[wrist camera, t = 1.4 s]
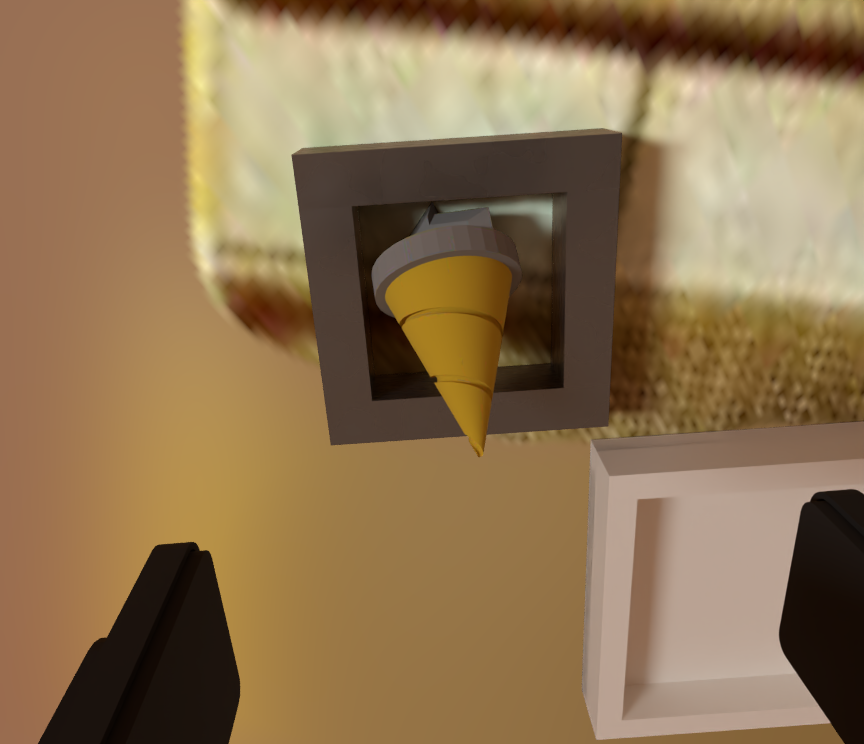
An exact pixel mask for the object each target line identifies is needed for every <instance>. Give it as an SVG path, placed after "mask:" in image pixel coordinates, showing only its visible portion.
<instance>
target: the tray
mask: <svg viewBox="0 0 864 744" xmlns="http://www.w3.org/2000/svg"><path fill="white" fill-rule="evenodd" d="M846 489H855V490H858V491H860V492H861V493H863V494H864V421H860V422H846V423H831V424H817V425H802V426H788V427H773V428H759V429H744V430H730V431H715V432H700V433H686V434H671V435H657V436H642V437H628V438H613V439H599V440H591V452H590V480H589V509H588V534H587V563H586V589H585V617H584V645H583V672H582V692H583V695H584V699H585V702H586V706H587V709H588V712H589V716H590V719H591V723H592V726H593V730H594V733H595V737H596V739H597V740H600V739H615V738H629V737H642V736H656V735H670V734H684V733H698V732H712V731H724V730H725V731H726V730H740V729H754V728H768V727H782V726H796V725H810V724H824V723H830V721H829V720H828V718H827V717H826V716H825V714H824V713H823V711H822V710H821V708H820V707H819V705H818V704H817V702H816V701H815V699H814V698H813V696H812V695H811V694H810V692H809V691H808V689H807V688H806V686H805V685H804V683H803V682H802V680H801V679H800V677H799V676H798V675H797V673H796V672H795V670H794V669H793V667H792V666H791V664H790V663H789V661H788V660H787V658H786V657H785V655H784V653H783V651H782V648H781V645H780V641H779V627H780V622H781V616H782V611H783V605H784V600H785V594H786V589H787V583H788V578H789V572H790V567H791V561H792V556H793V550H794V545H795V539H796V534H797V529H798V523H799V518H800V512H801V508H802V506H803V505H804V503H806V502H810V500H811V497H812V496H813V495H814V494H815V493H817V492H821V491H833V490H846Z"/></svg>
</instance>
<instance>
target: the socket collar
mask: <svg viewBox="0 0 864 744" xmlns="http://www.w3.org/2000/svg"><path fill="white" fill-rule="evenodd" d="M621 146H622V133H620V132H615V131H611V130H607V129H603V128H601V129H586V130H571V131H556V132H540V133H525V134H510V135H495V136H480V137H465V138H449V139H434V140H419V141H404V142H389V143H374V144H358V145H343V146H328V147H313V148H302V149H300V150H299V151H297V152H295V153H294V154H292V161H293V169H294V176H295V184H296V191H297V198H298V206H299V213H300V220H301V228H302V235H303V243H304V250H305V257H306V265H307V272H308V280H309V287H310V294H311V302H312V309H313V316H314V324H315V331H316V339H317V346H318V353H319V361H320V368H321V376H322V383H323V390H324V397H325V404H326V413H327V420H328V427H329V435H330V442H331V445H341V444H357V443H370V442H386V441H400V440H415V439H429V438H444V437H459V436H467V435H465V434H464V432H463V431H462V429H461V427H460V426H459V424H458V422H457V421H456V419H455V417H454V415H453V414H452V412H451V410H450V409H449V407H448V405H447V404H446V402H445V400H444V399H443V397H442V395H441V394H440V392H439V390H438V389H437V387H436V385H435V384H434V383H436V382H437V377H430V375H429V373H428V372H418V373H403V374H388V375H375V370H374V361H373V351H372V341H371V331H370V321H369V311H368V302H367V292H366V282H365V272H364V262H363V252H362V242H361V233H360V223H359V213H358V206H364V205H379V204H394V203H409V202H424V201H439V200H454V199H469V198H484V197H499V196H514V195H529V194H544V193H553V220H552V322H551V363H550V364H535V365H520V366H506V367H497V373H496V379H495V385H494V391H493V397H492V401H491V410H490V416H489V422H488V428H487V434H486V435H488V434H502V433H517V432H532V431H546V430H561V429H575V428H590V427H604V426H608V420H609V399H610V378H611V357H612V336H613V314H614V293H615V272H616V251H617V230H618V209H619V188H620V167H621Z"/></svg>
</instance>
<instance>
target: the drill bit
mask: <svg viewBox="0 0 864 744" xmlns="http://www.w3.org/2000/svg"><path fill="white" fill-rule="evenodd" d="M371 275H372V282H373V289H374V295H375V300H376V304H377V306H378V307H379V308H380V310H381V311H383V312H384V313H386V314H387V315H389V316H391V317H394V318H396V320H397V321H398V323H399V325H400V326H401V327H402V330H403V331H404V333H405V335H406V337H407V338H408V340H409V342H410V343H411V345H412V347H413V348H414V350H415V352H416V353H417V355H418V357H419V358H420V360H421V362H422V363H423V365H424V367H425V368H426V370H427V372H428V373H429V375H430V377H437V382H436V383H434V384H435V385H436V387H437V389H438V390H439V392H440V394H441V395H442V397H443V399H444V400H445V402H446V404H447V405H448V407H449V409H450V410H451V412H452V414H453V415H454V417H455V419H456V421H457V422H458V424H459V426H460V427H461V429H462V431H463V432H464V434H465V435H467V436H468V437H469V442H470V444H471V445H472V447H473V449H474V451H475V452H476V454H477V455H478V457H480V456H482V455H483V452H484V446H485V440H486V434H487V428H488V422H489V416H490V410H491V401H492V397H493V391H494V385H495V379H496V373H497V367H498V361H499V355H500V349H501V342H502V336H503V330H504V324H505V318H506V312H507V306H508V300H509V296H510V295H511V294H512V293H513V292H514V291H515V290H516V289H517V287H518V285H519V284H520V282H521V278H522V272H521V267H520V263H519V259H518V255H517V250H516V246H515V244H514V242H513V241H512V240H511V238H509V237H508V236H507V235H505V234H504V233H502V232H500V231H497V230H495V229H493V226H492V221H491V217H490V212H489V208H488V207H485V208H477V209H470V210H462V211H455V212H447V213H439V214H438V213H437V211H436V209H435V207H434V205H433V203H431V204H430V206H429V207H428V209H427V210H426V212H425V213H424V215H423V217H422V218H421V220H420V221H419V223H418V224H417V226H416V227H415V229H414V230H413V232H412V234H411V235H410V236H409V237H407V238H405V239H403V240H401V241H399V242H397V243H395V244H394V245H392V246H391V247H390V248H388V249H387V250H386V251H384V252H383V253H382V254H381V255H380V257H379V258H378V259H377V260H376V262H375V264H374V266H373V268H372V274H371Z"/></svg>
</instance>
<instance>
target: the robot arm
mask: <svg viewBox="0 0 864 744" xmlns="http://www.w3.org/2000/svg"><path fill="white" fill-rule="evenodd" d="M779 641H780V645H781V648H782V651H783V653H784V655H785V657H786V658H787V660H788V661H789V663H790V664H791V666H792V667H793V669H794V670H795V672H796V673H797V675H798V676H799V677H800V679H801V680H802V682H803V683H804V685H805V686H806V688H807V689H808V691H809V692H810V694H811V695H812V696H813V698H814V699H815V701H816V702H817V704H818V705H819V707H820V708H821V710H822V711H823V713H824V714H825V716H826V717H827V718H828V720H829V721H830V723H831V724H832V726H833V727H834V729H835V730H836V732H837V733H838V735H839V736H840V737H841V739H842V740H843V742H844V743H845V744H864V494H863V493H861V492H860V491H858V490H855V489H846V490H833V491H821V492H817V493H815V494H814V495H813V496H812V497H811V500H810V502H806V503H804V505H803V506H802V508H801V512H800V518H799V523H798V529H797V534H796V539H795V545H794V550H793V556H792V561H791V567H790V572H789V578H788V583H787V589H786V594H785V600H784V605H783V611H782V616H781V622H780V627H779ZM239 698H240V679H239V674H238V669H237V665H236V661H235V656H234V652H233V647H232V643H231V639H230V634H229V630H228V626H227V621H226V617H225V613H224V608H223V604H222V600H221V595H220V591H219V587H218V582H217V578H216V574H215V569H214V565H213V561H212V557H211V554H210V552H209V551H207V550H205V551H200V550H199V547H198V546H197V544H196V543H194V542H187V543H174V544H162V545H157V546H155V548H154V549H153V550H152V552H151V554H150V556H149V558H148V560H147V562H146V564H145V565H144V567H143V569H142V571H141V573H140V575H139V577H138V579H137V581H136V583H135V585H134V587H133V589H132V590H131V592H130V594H129V596H128V598H127V600H126V602H125V604H124V606H123V608H122V610H121V612H120V614H119V615H118V617H117V619H116V621H115V623H114V625H113V627H112V629H111V631H110V633H109V635H108V637H107V638H100V639H99V640H97V641H96V642H94V644H93V645H92V646H91V648H90V649H89V650H88V652H87V654H86V656H85V658H84V660H83V661H82V663H81V665H80V667H79V669H78V671H77V673H76V674H75V676H74V678H73V680H72V682H71V683H70V685H69V687H68V689H67V691H66V693H65V695H64V696H63V698H62V700H61V702H60V704H59V706H58V708H57V709H56V711H55V713H54V715H53V717H52V719H51V720H50V722H49V724H48V726H47V728H46V730H45V732H44V734H43V735H42V737H41V739H40V741H39V743H38V744H228V743H229V740H230V736H231V732H232V728H233V723H234V720H235V715H236V712H237V707H238V704H239Z"/></svg>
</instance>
